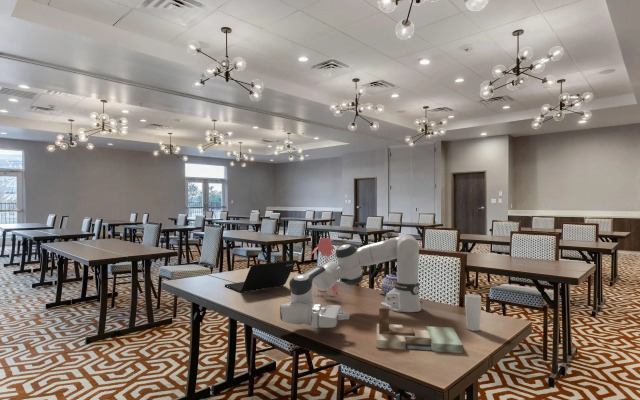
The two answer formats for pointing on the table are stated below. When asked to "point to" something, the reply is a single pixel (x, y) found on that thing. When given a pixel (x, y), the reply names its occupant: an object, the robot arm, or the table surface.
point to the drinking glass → (473, 311)
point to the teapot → (387, 282)
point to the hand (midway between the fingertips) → (349, 316)
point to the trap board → (422, 340)
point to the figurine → (326, 253)
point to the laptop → (265, 276)
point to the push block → (384, 324)
